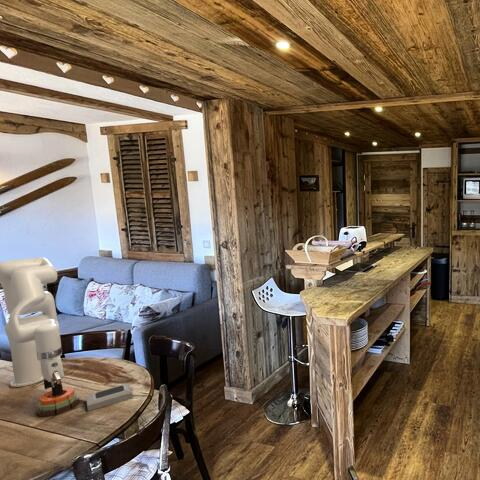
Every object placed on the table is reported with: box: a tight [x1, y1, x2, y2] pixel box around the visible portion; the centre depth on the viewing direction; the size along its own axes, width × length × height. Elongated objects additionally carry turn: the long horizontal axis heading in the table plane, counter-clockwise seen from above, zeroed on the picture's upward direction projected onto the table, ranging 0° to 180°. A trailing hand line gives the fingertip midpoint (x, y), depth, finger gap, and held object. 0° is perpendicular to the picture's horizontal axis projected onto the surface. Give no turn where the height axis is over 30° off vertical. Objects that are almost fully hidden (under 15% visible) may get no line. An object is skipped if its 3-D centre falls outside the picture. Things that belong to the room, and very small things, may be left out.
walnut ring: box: [36, 396, 80, 418], centre depth 150 cm, size 12×12×2 cm
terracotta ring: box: [38, 386, 76, 406], centre depth 150 cm, size 10×10×2 cm
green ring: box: [37, 392, 78, 411], centre depth 150 cm, size 11×11×2 cm
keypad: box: [85, 383, 133, 412], centre depth 156 cm, size 10×4×15 cm
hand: (53, 390), depth 152 cm, fingers open, 9 cm apart
